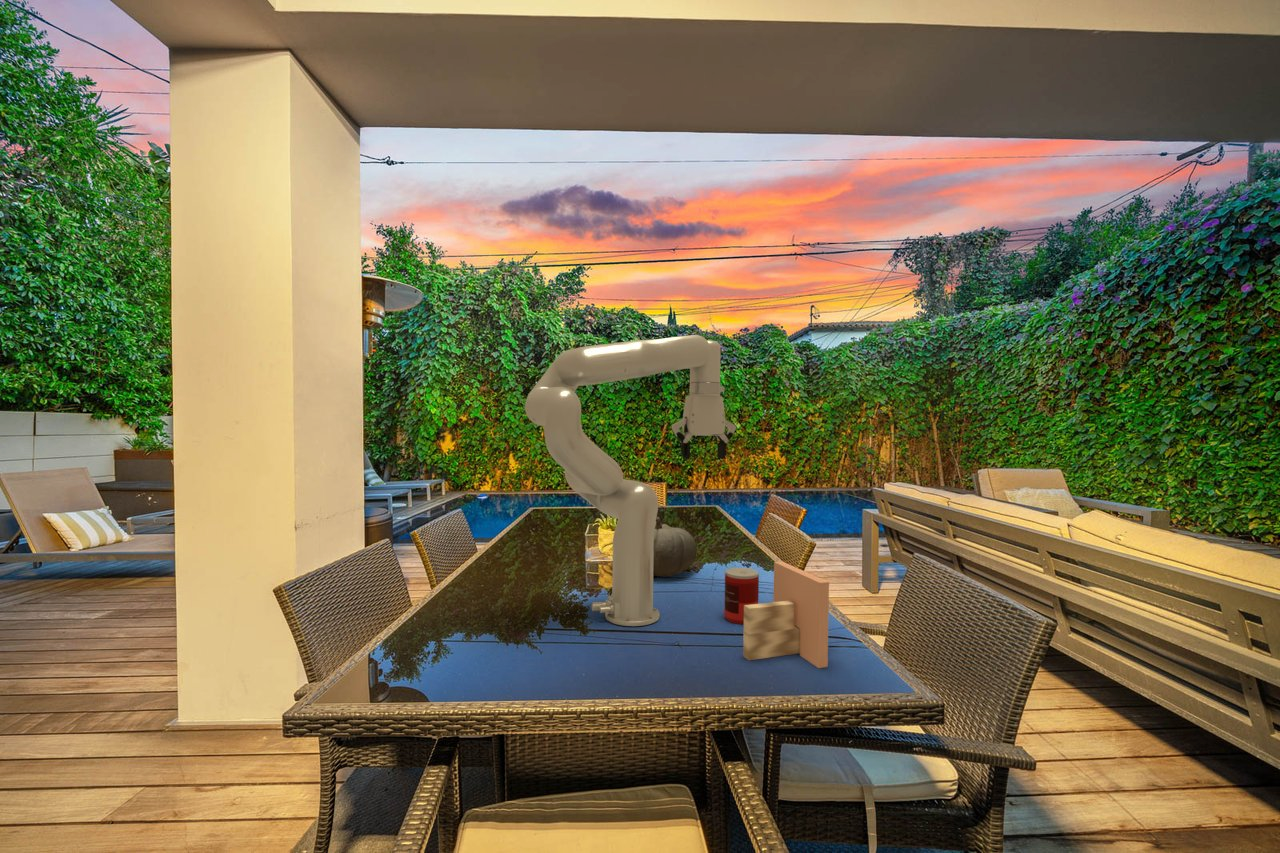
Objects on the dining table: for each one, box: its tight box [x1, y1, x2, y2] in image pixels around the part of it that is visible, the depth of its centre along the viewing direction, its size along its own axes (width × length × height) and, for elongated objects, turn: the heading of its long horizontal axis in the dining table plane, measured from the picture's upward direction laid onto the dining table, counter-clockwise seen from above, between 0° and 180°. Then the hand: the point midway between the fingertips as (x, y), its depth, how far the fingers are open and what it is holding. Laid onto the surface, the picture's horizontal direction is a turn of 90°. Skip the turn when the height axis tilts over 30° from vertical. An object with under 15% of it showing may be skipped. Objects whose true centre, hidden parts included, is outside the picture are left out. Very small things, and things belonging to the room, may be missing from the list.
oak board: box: [742, 601, 800, 661], centre depth 113 cm, size 18×2×10 cm, turn 109°
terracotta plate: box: [772, 561, 830, 669], centre depth 114 cm, size 2×16×16 cm, turn 18°
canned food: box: [724, 566, 760, 625], centre depth 133 cm, size 8×8×11 cm
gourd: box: [653, 516, 698, 578], centre depth 173 cm, size 25×25×17 cm
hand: (703, 458), depth 143 cm, fingers open, 9 cm apart
